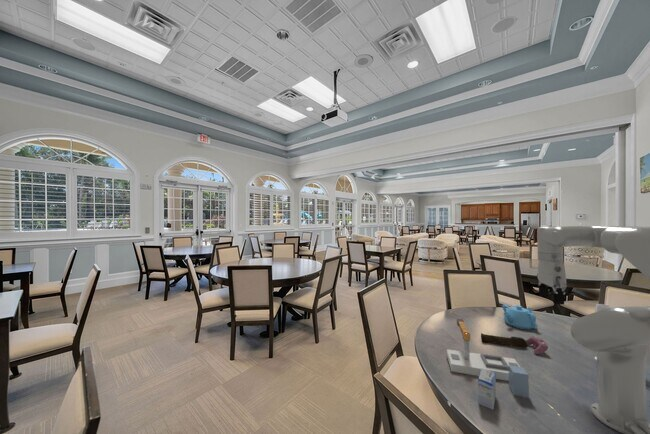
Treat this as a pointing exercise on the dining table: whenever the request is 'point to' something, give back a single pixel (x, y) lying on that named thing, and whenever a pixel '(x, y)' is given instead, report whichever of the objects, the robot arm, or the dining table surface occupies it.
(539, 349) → the video game controller
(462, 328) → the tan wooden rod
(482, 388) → the medicine box
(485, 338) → the hand tool
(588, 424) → the dining table surface
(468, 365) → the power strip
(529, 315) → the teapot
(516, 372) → the blue rectangular block
